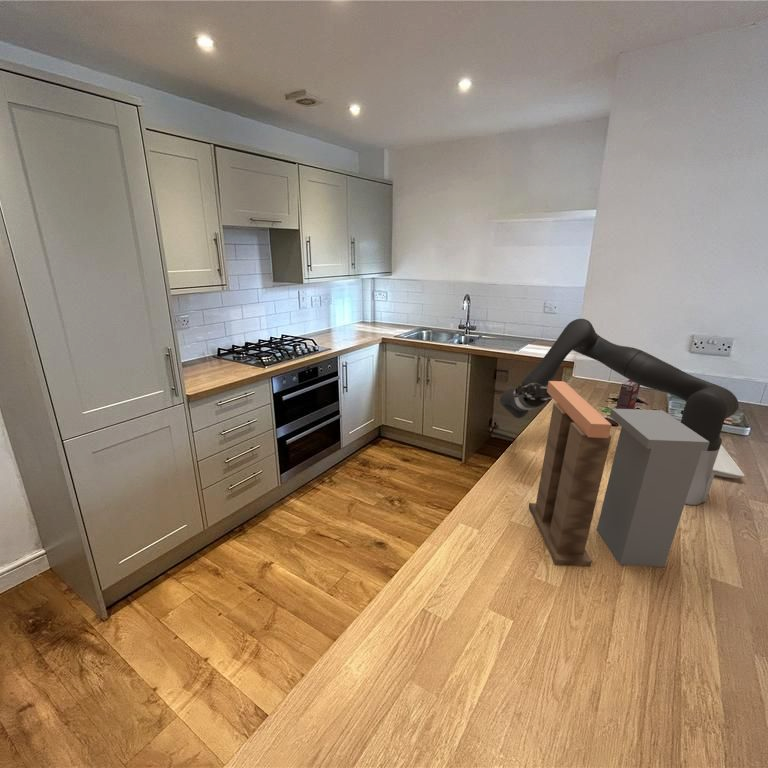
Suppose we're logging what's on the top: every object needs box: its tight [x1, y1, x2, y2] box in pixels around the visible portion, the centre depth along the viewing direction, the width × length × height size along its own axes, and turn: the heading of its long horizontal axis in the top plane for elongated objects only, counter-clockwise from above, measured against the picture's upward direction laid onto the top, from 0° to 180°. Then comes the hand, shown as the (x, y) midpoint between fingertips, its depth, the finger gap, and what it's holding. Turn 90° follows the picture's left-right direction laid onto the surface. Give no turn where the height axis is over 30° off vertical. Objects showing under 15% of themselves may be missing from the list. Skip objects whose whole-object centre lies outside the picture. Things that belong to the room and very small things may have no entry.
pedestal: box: [596, 408, 710, 568], centre depth 96 cm, size 12×16×32 cm
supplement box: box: [615, 379, 641, 409], centre depth 169 cm, size 9×5×16 cm, turn 132°
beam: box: [546, 380, 612, 438], centre depth 96 cm, size 26×4×3 cm, turn 177°
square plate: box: [712, 444, 745, 479], centre depth 143 cm, size 27×27×4 cm
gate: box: [528, 402, 612, 568], centre depth 98 cm, size 8×21×32 cm, turn 178°
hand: (549, 388), depth 112 cm, fingers open, 8 cm apart
